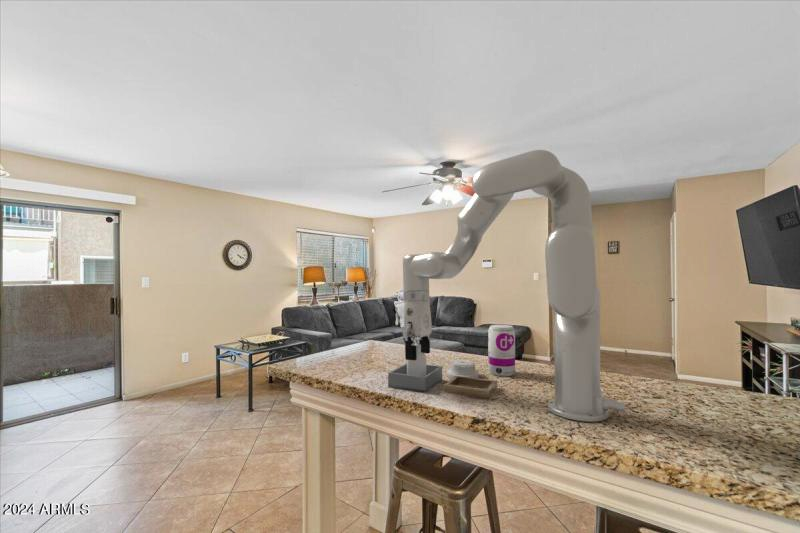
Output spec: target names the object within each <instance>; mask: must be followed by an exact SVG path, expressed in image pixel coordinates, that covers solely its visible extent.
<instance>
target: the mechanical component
mask: <svg viewBox="0 0 800 533" xmlns="http://www.w3.org/2000/svg"><path fill="white" fill-rule="evenodd" d="M446 376H447V377H448V378H450V379H452V378H453V377H455V376H463V377H471V378H480V372H479V371H478V370H476V363H475V362H473V361H472V360H467V359H459V360H458V359H455V360H452V361H451V362H450V368H448V369H447V370H446Z"/></svg>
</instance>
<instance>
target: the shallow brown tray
mask: <svg viewBox="0 0 800 533" xmlns="http://www.w3.org/2000/svg"><path fill="white" fill-rule="evenodd" d="M461 385H462V386H461ZM470 386H471V387H470ZM476 387H477V388H476ZM483 388H484V389H483ZM497 389H498V380H493V379H484V378H480V377H478V378H471V377H463V376H455V377H453V378H450V380H448V381H447V382H446V383H445V384H444V385H443V393H445V394H452V395H458V396H465V397H472V398H478V399H485V400H490V399H491V397H493V395H494V394H495V393H496V391H497Z"/></svg>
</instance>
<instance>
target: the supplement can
mask: <svg viewBox="0 0 800 533" xmlns="http://www.w3.org/2000/svg"><path fill="white" fill-rule="evenodd" d="M487 330H488V331H487V334H488V335H487V336H488V338H487V341H488V342H487V344H488V347H487V348H488V349H487V351H488V352H487V353H488V354H487V355H488V367H487V369H488V372H490V374H491V375H494V376H499V377H510V376H513V375H514V374H515V373H516V331H515V329H514V327H513V325H509V324H491V325H489V328H488V329H487Z"/></svg>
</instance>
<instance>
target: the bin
mask: <svg viewBox="0 0 800 533" xmlns="http://www.w3.org/2000/svg"><path fill="white" fill-rule="evenodd" d="M387 375H388V376H387V377H388V379H387V384H388V385H387V386H388V388H392V389H399V390H406V391H411V392H416V393H427V392H428V391H430V390H431V389H432V388H434V387H435V386H436V385H437V384H439V383H441V381H442V380H443V366H442V365H441V366H440V365H434V364H426V376H425V377H421V376H414V375H407V362H406V363H405V364H402V365H400V366H398V367H396V368H394V369H393V370H391V371H389V372H388V374H387Z"/></svg>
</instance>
